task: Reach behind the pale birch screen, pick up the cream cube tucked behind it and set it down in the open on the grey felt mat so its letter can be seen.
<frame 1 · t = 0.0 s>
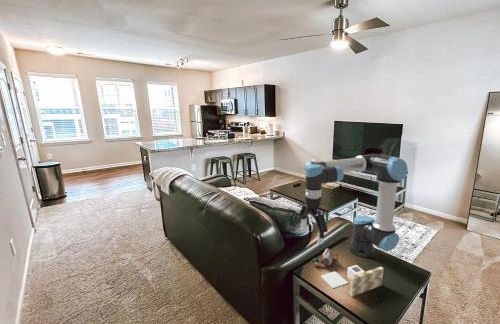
hand: (311, 236, 117), 28 cm above the table, fingers open, 13 cm apart
birch screen: (365, 289, 119), on the table
felt mat: (333, 279, 127), on the table
decorative duck model: (323, 262, 142), on the table
cream cube: (355, 279, 127), on the table
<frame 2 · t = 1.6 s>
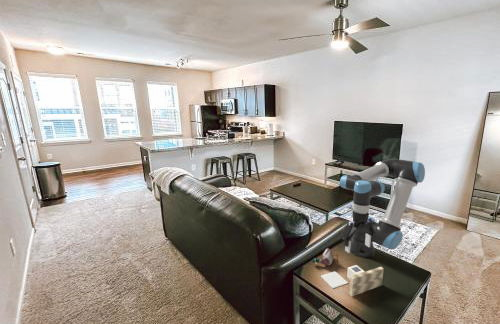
hand: (357, 248, 123), 18 cm above the table, fingers open, 13 cm apart
nothing on the table moved.
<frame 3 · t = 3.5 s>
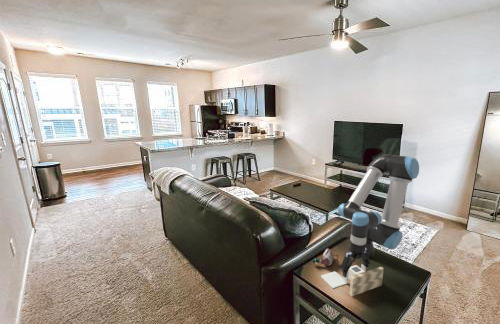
hand: (354, 278, 126), 0 cm above the table, fingers open, 11 cm apart
nothing on the table moved.
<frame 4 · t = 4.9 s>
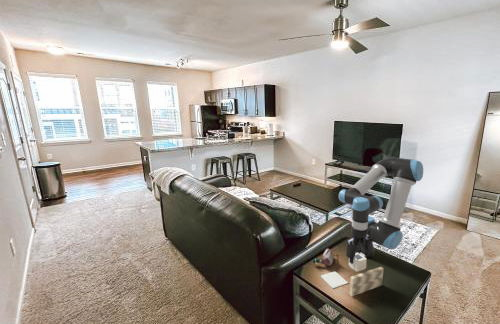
hand: (357, 266, 126), 8 cm above the table, fingers closed on cream cube, 6 cm apart
cream cube: (357, 266, 126), point 7 cm above the table, touching gripper
everything else where it was.
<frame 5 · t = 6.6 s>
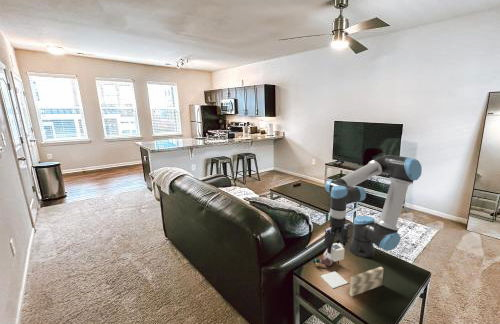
hand: (335, 256, 124), 14 cm above the table, fingers closed on cream cube, 6 cm apart
cream cube: (335, 257, 124), point 14 cm above the table, touching gripper
everything else where it was.
when the fingers open (1 cm above the table, at t = 8.8 s): cream cube stays where it is, resting on felt mat.
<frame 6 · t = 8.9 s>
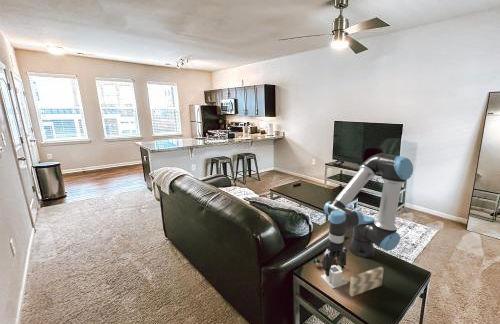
hand: (333, 278, 126), 1 cm above the table, fingers open, 6 cm apart
cream cube: (333, 279, 126), resting on felt mat
everything else where it was.
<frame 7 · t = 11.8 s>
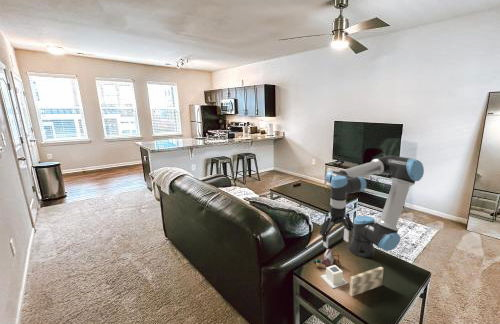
hand: (336, 243, 123), 21 cm above the table, fingers open, 13 cm apart
nothing on the table moved.
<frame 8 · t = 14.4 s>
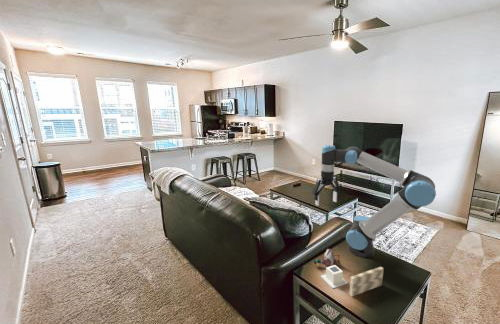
hand: (326, 203, 147), 33 cm above the table, fingers open, 13 cm apart
nothing on the table moved.
at the end: cream cube inside the target area on the felt mat (0.1 cm from its centre), point 0.4 cm above the felt mat's base; cream cube tilted 0°; the gripper is holding nothing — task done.
